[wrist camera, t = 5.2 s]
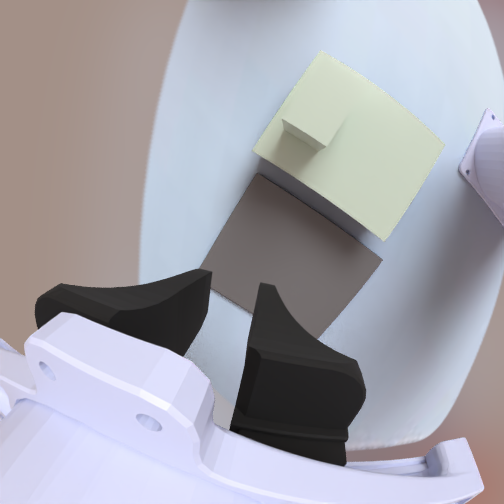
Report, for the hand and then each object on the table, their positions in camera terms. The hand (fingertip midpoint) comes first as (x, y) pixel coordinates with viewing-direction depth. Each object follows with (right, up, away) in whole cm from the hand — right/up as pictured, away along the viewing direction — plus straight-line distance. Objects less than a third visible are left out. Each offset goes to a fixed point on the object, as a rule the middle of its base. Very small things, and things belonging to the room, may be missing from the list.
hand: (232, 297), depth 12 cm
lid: (+7, +9, +4) cm, 12 cm away
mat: (+4, +1, +10) cm, 11 cm away
